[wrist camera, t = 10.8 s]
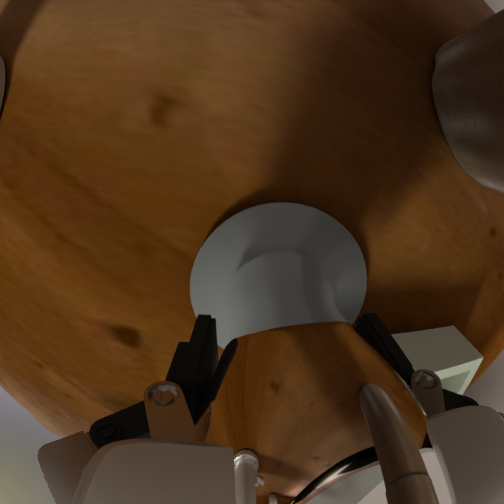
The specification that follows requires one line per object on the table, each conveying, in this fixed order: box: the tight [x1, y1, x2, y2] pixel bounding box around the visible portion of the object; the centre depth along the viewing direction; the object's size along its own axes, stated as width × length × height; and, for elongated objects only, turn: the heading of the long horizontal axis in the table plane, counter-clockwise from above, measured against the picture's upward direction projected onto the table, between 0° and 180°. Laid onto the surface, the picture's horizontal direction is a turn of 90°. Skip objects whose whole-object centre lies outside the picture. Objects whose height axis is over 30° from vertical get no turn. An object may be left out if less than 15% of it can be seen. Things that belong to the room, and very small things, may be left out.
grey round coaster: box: [190, 201, 367, 349], centre depth 17 cm, size 11×11×1 cm
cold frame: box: [391, 325, 483, 395], centre depth 18 cm, size 16×18×5 cm
